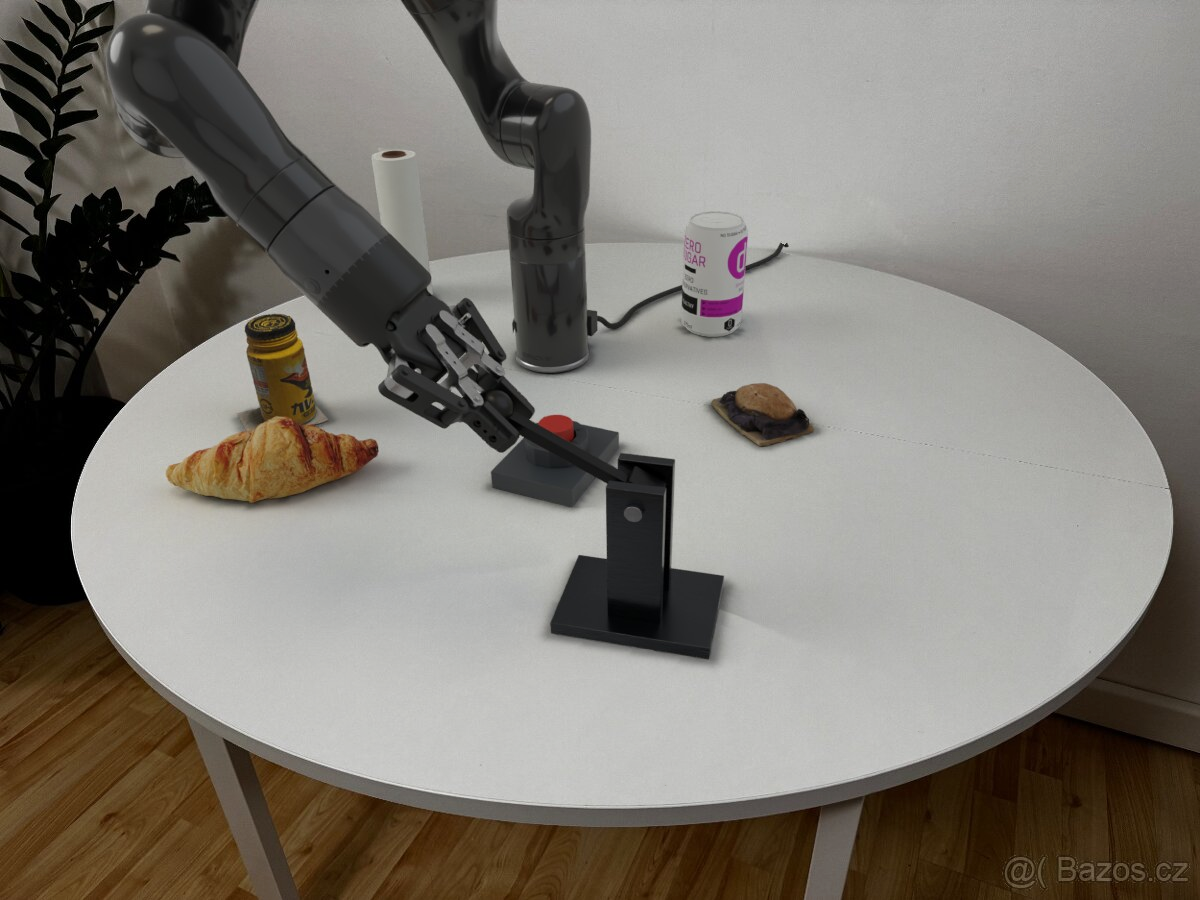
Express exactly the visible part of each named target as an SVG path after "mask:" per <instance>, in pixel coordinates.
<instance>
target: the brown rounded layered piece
mask: <svg viewBox="0 0 1200 900" xmlns="http://www.w3.org/2000/svg"><path fill="white" fill-rule="evenodd" d="M710 405H711V407H712V408H713V409H714V410H715V411H716V412H717V413H718V415H720V417H722V418H723V420H725V421H726V422H727V423H728V424H729V425H730V426H732V428H734V429H735V430H737V431H738V432H740V435H741V436H745V437H746V438H747V439H749V440H750V441H751V442H752V443H753V444H755V445H757V446H758V447H764V446H765V447H766V446H767V447H770V445H774V444H777V443H784V442H786V440H789V439H793V440H794V439H797V438H799V437H801V436H804V435H807V434H811V433H814V431H815V429H814V426H813V425H812V424H811V423H810V419H809V418H808V416H807V414H806V413H805V411H804V410H803V409H800V408H797V407H796V405H795V403H794V402H793V400H792V399H790V397H789V396H788V395H787V394H786V393H785V392H784V391H783V390H782V389H780V388H779V387H777V386H774V385H772V384H769V383H766V382H758V383H750V384H747V385H742V386H740V387H739V388H737V389H736V390H730V391H727V392H726V393H724V394H723V395H722V396H721V397H717V398H713V399H712V400H711V402H710Z"/></svg>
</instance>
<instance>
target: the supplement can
mask: <svg viewBox="0 0 1200 900" xmlns="http://www.w3.org/2000/svg"><path fill="white" fill-rule="evenodd" d="M683 233H684V234H683V258H682V259H683V261H682V284H681V285H682V290H681V313H680V314H681V315H680V322H681V323H682V326H683V327H685V328H686V330H687V331H689V332H690V333H692V334H695V335H697V336H701V337H709V338H714V337H715V338H717V337H725V336H728V335H731V334H733V333H734V332H735V331H736V330H737V329H738V328H740V327H741V325H742V317H743V316H742V315H743V305H744V304H743V302H744V290H745V279H746V271H745V266H747V265H746V263H747V252H748V237H749V229H748V228H747V225H746V223H745V219H744V218H743V216H742V215H739V214H737V213H735V212H729V211H720V210H713V211H712V210H710V211H702V212H698V213H694V214H693V215H691V216H690V218H689V222H688V223H687V224H686V226H685V229H684V232H683Z"/></svg>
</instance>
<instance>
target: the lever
mask: <svg viewBox="0 0 1200 900" xmlns="http://www.w3.org/2000/svg"><path fill="white" fill-rule="evenodd" d="M479 394H480V395H481V396H482V398H483V400H484V403H485V402H486V401H488V402H489V403H490V404H491V405H492V406H493V407H494V408H495V409H496V410H497V411H498V412H499V413H500V414H501V415H502V416H503V417H504V418H505V419H506V420H507V421H508V422H509V423H510V424H511V425H512V426H513V427H514V428H515V429H516V430H517V431H518V432H519V434H520V436H521V437H522V438H526V439H528V440H529V441H531V442H533V443H535V444H537V445H538V446H540V447H542V448H544V449H546V450H547V451H549V452H551V453H553V454H555V455H556V456H558V457H560V458H562V459H564V460H565V461H567V462H569V463H571V464H573V465H574V466H576V467H578V468H580V469H582V470H583V471H585V472H587V473H589V474H591V475H592V476H594V477H595V479H598V480H600V481H601V482H604V483H605V484H607V483H608V481H617V482H625V483H633V484H641V485H649V486H657V487H665V485H666V482H664V481H662V480H660V479H658V478H657V477H655V476H653V475H651V474H649V473H648V472H646V471H644V470H642V469H640V468H639V467H637V466H634V468H633V469H632V471H631V473H630V474H629V475H628V474H626V473H624V472H622V471H621V470H619V469H618V467H615V466H614V465H611V464H610V463H608V462H607V463H606V462H605V461H603V460H601V459H599V458H597V457H596V456H594V455H592V454H590V453H588V452H587V451H585V450H583V449H581V448H579V447H578V446H576V445H574V444H572V443H570V442H569V441H567V440H565V439H563V438H561V437H560V436H558V435H556V434H554V433H553V432H551V431H549V430H547V429H545V428H544V427H542V426H540V425H538V424H536V423H537V422H534V421H533V420H531V419H527V418H526V417H524V416H522V415H520V414H518V413H517V412H515V411H514V405H513V402H512V400H511V398H510V397H509V396H508V395H507V394H506V393H505V392H503V391H501V390H498V389H487V390H484V391H482V392H479ZM484 403H483V404H484ZM520 436H519V437H520Z"/></svg>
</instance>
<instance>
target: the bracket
mask: <svg viewBox="0 0 1200 900" xmlns="http://www.w3.org/2000/svg"><path fill="white" fill-rule="evenodd" d="M634 466H637V467H639V468H640V469H642V470H644V471H646V472H648V473H649V474H651V475H653V476H655V477H657V478H658V479H660V480H662V481H664V482H666V485H665V487H657V486H649V485H641V484H633V483H625V482H617V481H608V483H606V486H605V529H606V530H605V534H606V536H605V537H606V541H605V543H606V558H603V557H598V556H592V555H591V556H589V555H583V554H578V555H577V558H576V560H575V562H574V565H573V567H572V570H571V572H570V574H569V577H568V580H567V582H566V584H565V586H564V589H563V591H562V593H561V596H560V599H559V600H558V603H557V606H556V607H555V610H554V612H553V614H552V618H551V620H550V622H549V624H550V625H549V626H550V634H551V635H559V636H564V637H570V638H576V639H583V640H589V641H596V642H601V643H606V644H607V643H608V644H612V645H618V646H619V645H620V646H626V647H633V648H637V649H644V650H649V651H656V652H662V653H668V654H673V655H680V656H686V657H691V658H698V659H704V660H710V658H711V653H712V648H713V641H714V637H715V633H716V626H717V621H718V617H719V611H720V605H721V600H722V595H723V591H724V583H725V575H721V574H715V573H710V572H703V571H702V572H701V571H695V570H687V569H681V568H674V567H672V565H673V564H672V560H673V558H672V557H673V537H674V536H673V534H674V533H673V532H674V530H673V529H674V508H675V507H674V506H675V502H674V501H675V478H676V459H675V458H669V457H659V456H651V455H643V454H642V455H641V454H635V453H626V452H620V453H619V455H618V458H617V469H619V470H621V471H622V472H624V473H626V474H628V475H629V474H630V473H631V471H632V469H633V468H634Z"/></svg>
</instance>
